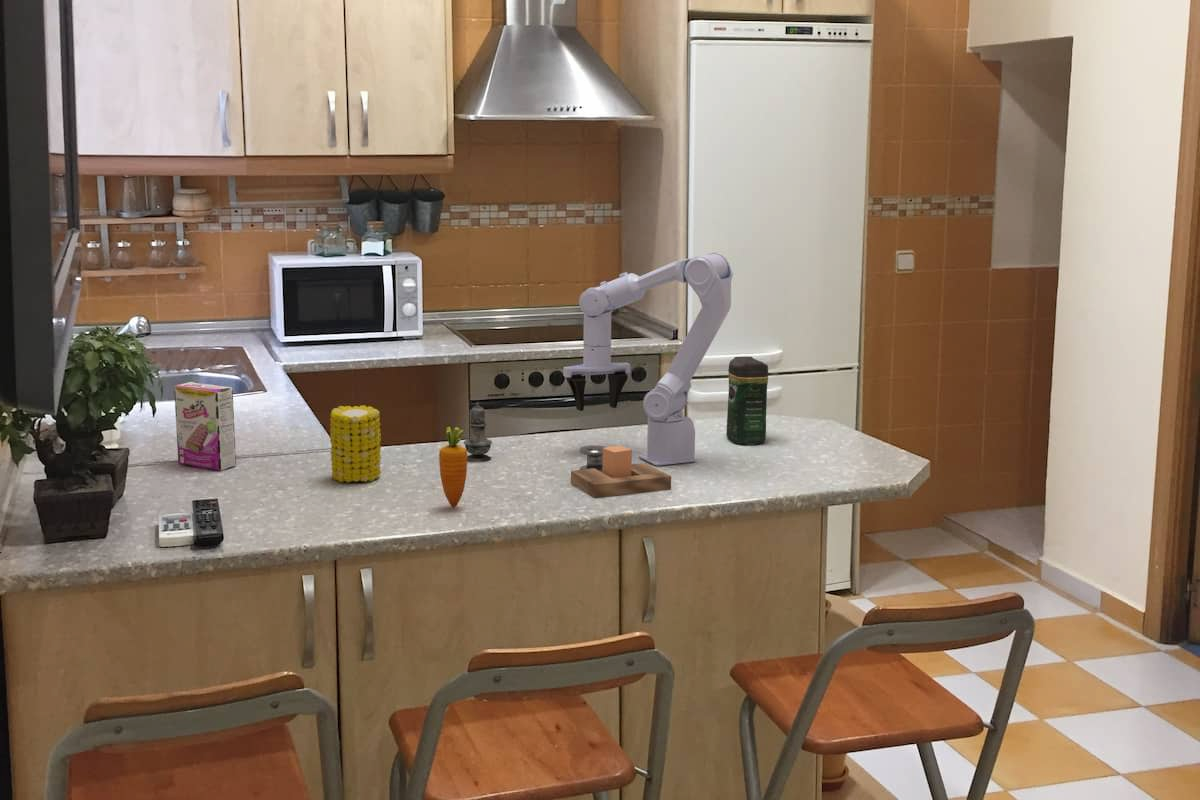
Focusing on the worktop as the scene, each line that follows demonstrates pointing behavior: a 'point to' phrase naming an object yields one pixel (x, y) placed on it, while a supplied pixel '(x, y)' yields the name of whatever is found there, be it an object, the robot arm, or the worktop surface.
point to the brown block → (617, 461)
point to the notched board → (621, 481)
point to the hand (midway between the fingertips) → (596, 408)
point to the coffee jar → (747, 400)
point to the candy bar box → (205, 426)
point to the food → (355, 443)
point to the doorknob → (593, 457)
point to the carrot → (453, 467)
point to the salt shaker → (477, 436)
